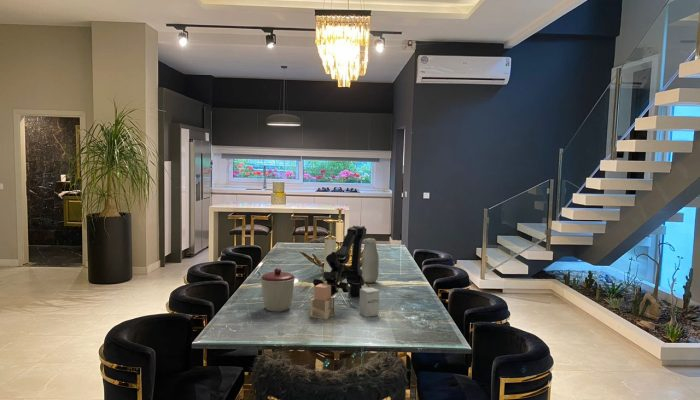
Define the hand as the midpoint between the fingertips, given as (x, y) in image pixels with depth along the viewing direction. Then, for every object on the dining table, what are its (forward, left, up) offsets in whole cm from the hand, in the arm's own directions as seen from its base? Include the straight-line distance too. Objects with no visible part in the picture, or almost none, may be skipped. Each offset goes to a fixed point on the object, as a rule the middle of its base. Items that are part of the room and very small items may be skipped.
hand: (325, 300), depth 248 cm
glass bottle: (-45, -50, -7) cm, 68 cm away
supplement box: (-20, +8, -7) cm, 23 cm away
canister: (+21, -15, -7) cm, 27 cm away
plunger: (+2, +2, -6) cm, 7 cm away
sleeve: (+3, +3, -7) cm, 8 cm away
